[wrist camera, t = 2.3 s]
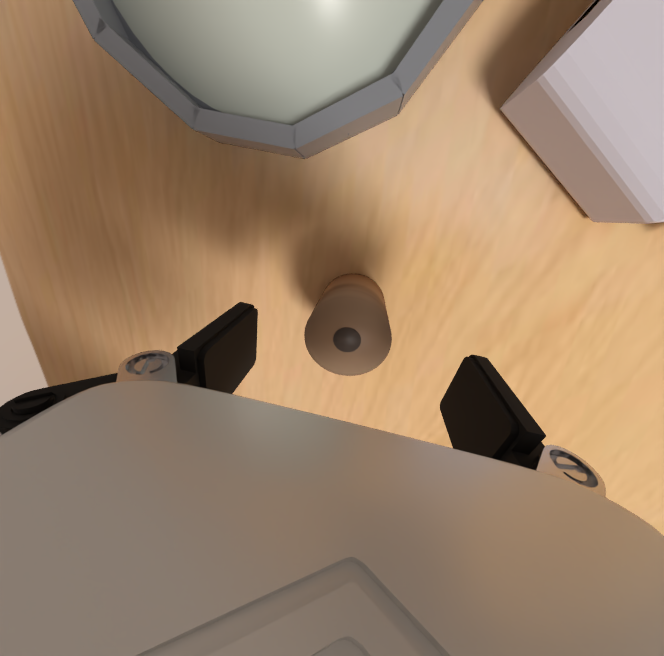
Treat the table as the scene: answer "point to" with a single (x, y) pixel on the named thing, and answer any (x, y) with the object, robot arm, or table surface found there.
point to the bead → (349, 327)
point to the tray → (279, 62)
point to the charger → (602, 111)
